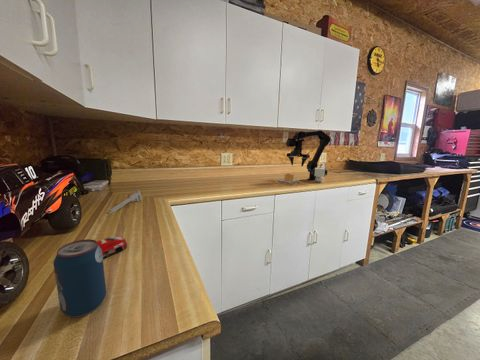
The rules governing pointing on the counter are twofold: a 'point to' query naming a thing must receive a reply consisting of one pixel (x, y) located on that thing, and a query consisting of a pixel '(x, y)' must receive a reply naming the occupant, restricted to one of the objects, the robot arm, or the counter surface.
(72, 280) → the soda can
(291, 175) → the wire nut cap
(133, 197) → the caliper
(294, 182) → the junction plate
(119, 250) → the race car
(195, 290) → the counter surface
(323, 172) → the pneumatic valve
